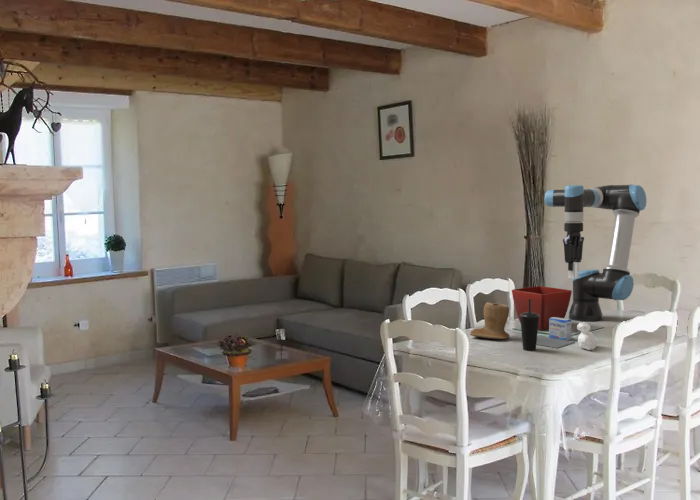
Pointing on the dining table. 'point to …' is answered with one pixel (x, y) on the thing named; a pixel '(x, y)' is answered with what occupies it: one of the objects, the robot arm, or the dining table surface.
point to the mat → (552, 342)
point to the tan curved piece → (493, 322)
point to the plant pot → (542, 303)
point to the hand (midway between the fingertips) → (573, 277)
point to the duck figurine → (586, 337)
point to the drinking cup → (529, 329)
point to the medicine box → (560, 328)
